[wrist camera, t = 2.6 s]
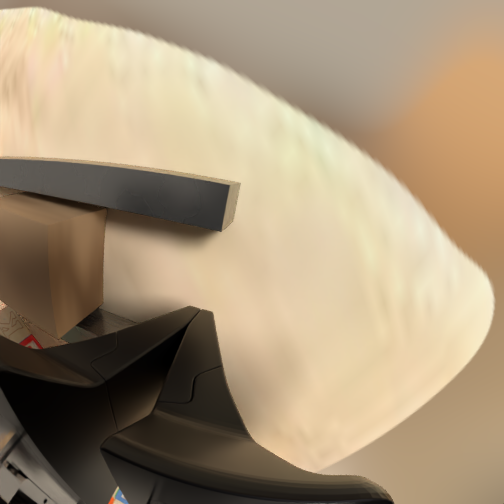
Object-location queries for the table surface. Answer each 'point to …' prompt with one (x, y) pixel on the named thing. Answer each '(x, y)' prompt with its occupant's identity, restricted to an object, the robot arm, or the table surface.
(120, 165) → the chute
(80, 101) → the table surface
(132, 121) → the table surface
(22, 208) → the walnut block
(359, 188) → the table surface
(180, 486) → the robot arm
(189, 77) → the table surface
